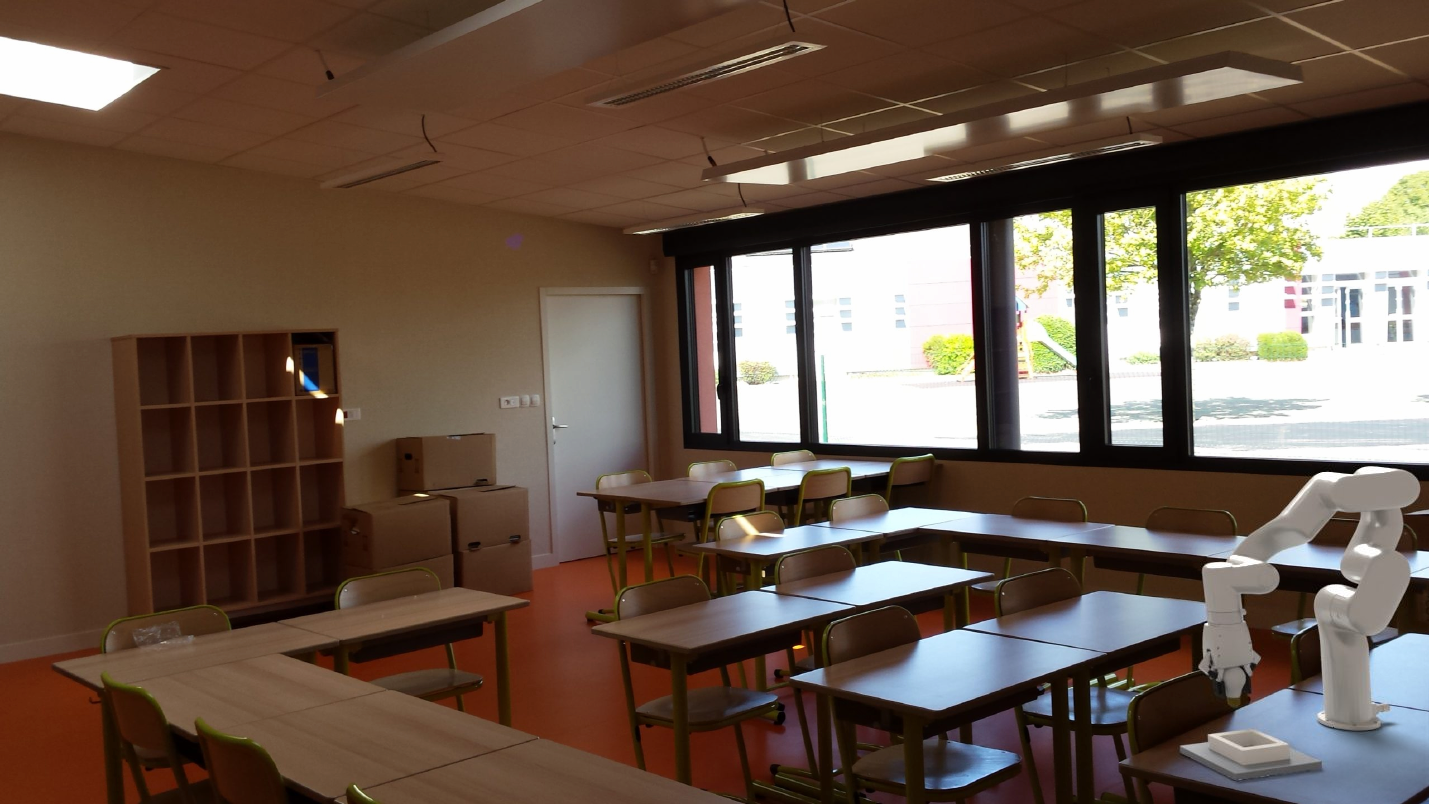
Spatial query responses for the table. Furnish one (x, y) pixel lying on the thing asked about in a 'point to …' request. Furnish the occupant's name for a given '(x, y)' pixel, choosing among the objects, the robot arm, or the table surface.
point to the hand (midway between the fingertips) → (1233, 694)
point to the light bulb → (1233, 684)
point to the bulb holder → (1249, 755)
